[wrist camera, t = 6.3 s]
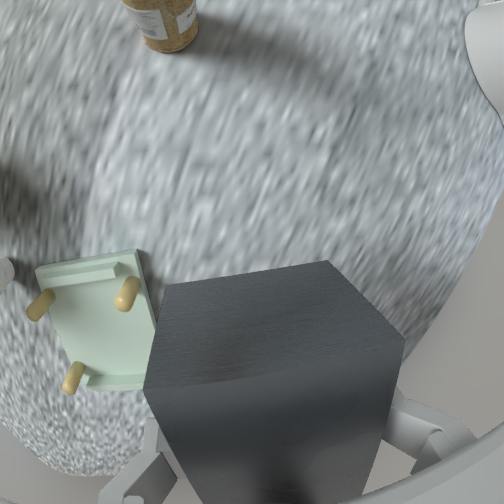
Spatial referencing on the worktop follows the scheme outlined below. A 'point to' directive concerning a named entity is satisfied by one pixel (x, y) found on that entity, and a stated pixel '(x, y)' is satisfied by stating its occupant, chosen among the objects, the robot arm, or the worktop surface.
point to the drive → (273, 384)
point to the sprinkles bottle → (164, 22)
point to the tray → (99, 319)
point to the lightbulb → (5, 273)
